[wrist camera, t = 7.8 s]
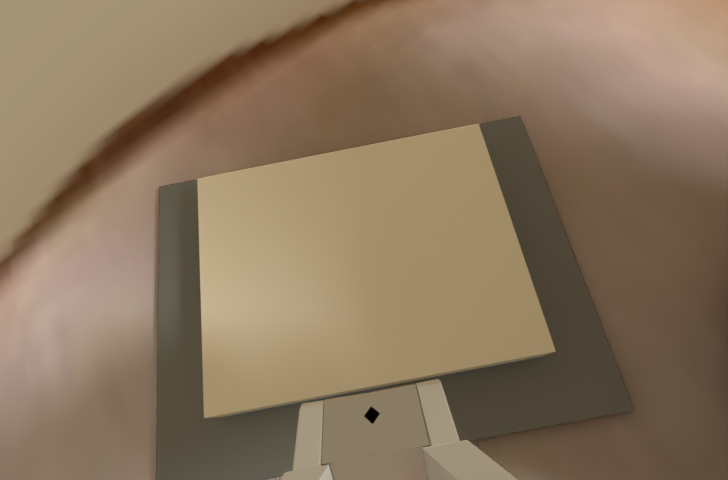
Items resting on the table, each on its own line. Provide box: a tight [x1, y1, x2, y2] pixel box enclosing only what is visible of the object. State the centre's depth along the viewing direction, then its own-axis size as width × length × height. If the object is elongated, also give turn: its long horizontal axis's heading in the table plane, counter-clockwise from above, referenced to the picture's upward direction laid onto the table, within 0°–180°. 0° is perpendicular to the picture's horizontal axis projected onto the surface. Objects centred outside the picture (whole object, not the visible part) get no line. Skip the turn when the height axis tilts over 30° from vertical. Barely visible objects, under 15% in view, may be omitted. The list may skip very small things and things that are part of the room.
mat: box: [156, 116, 634, 480], centre depth 20 cm, size 20×15×1 cm
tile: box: [197, 123, 556, 418], centre depth 20 cm, size 14×2×11 cm
